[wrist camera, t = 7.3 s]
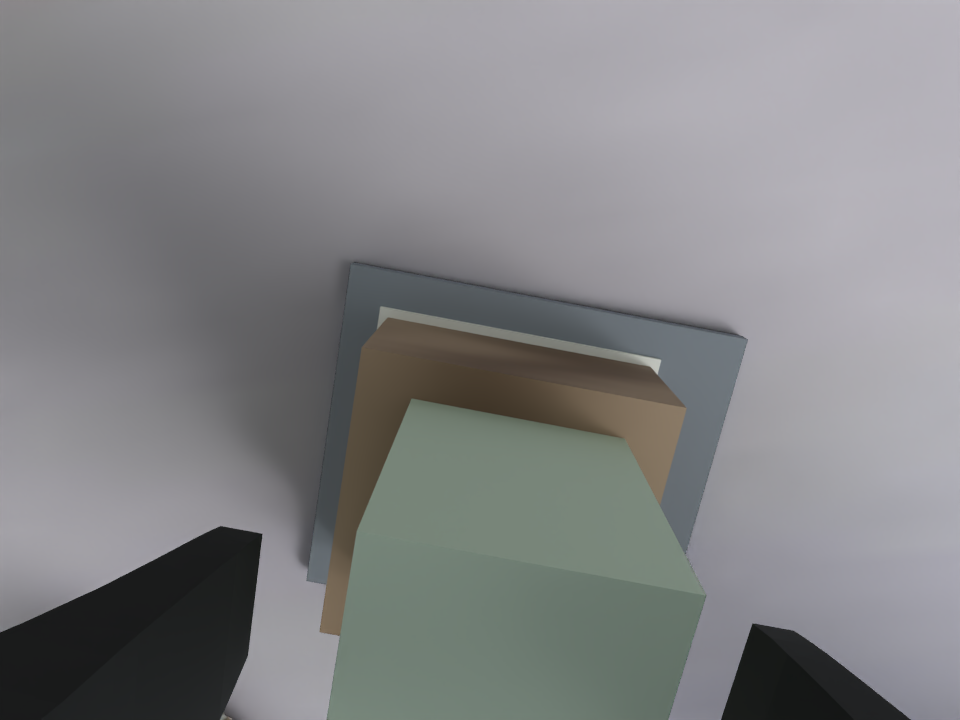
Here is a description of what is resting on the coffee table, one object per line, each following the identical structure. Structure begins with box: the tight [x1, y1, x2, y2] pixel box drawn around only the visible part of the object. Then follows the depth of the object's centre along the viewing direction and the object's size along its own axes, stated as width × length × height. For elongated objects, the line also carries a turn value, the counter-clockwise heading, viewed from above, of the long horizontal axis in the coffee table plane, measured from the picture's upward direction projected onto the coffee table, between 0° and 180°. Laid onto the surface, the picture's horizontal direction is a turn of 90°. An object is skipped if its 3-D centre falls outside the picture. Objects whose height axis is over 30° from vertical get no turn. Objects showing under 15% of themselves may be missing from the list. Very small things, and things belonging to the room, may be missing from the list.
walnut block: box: [320, 317, 687, 636], centre depth 14 cm, size 6×6×3 cm
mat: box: [307, 262, 748, 584], centre depth 16 cm, size 9×8×1 cm
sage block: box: [327, 399, 706, 720], centre depth 10 cm, size 4×4×5 cm
